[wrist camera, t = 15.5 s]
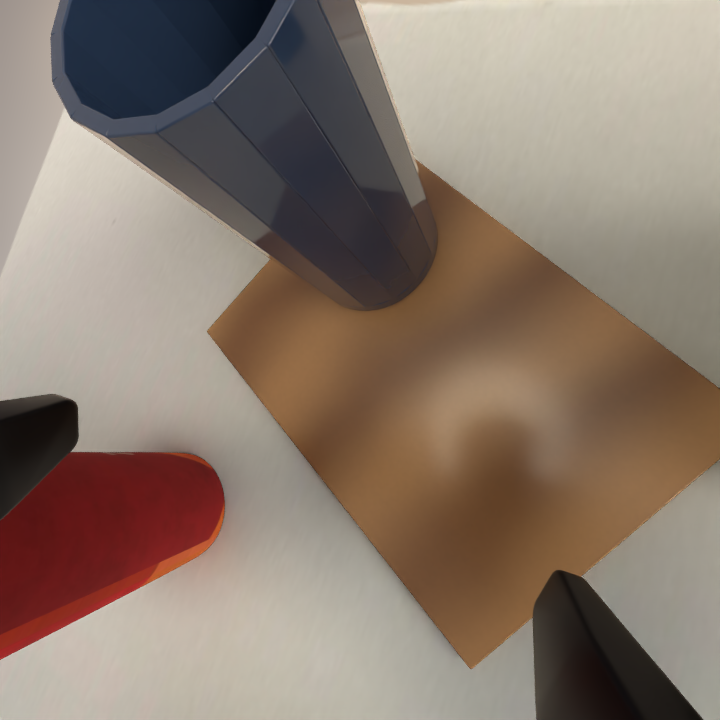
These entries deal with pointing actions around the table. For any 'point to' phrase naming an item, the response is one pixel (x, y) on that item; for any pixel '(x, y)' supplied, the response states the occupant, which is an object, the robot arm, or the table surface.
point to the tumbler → (260, 129)
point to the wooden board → (477, 418)
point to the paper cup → (100, 536)
